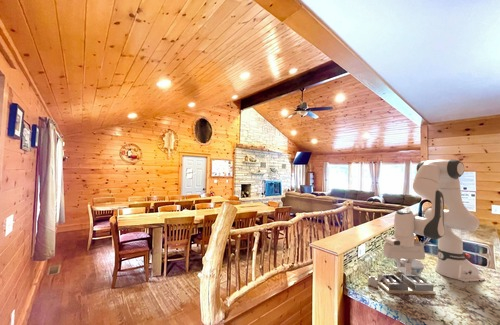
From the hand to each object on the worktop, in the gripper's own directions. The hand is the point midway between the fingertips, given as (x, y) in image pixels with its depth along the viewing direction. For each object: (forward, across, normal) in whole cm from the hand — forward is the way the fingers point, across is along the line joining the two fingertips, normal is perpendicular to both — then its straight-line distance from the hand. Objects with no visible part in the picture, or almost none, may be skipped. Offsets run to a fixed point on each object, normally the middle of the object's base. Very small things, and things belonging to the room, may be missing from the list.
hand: (403, 266), depth 114 cm
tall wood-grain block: (+3, 0, 0) cm, 3 cm away
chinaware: (+11, -13, -15) cm, 23 cm away
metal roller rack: (+11, 0, 0) cm, 11 cm away
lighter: (+12, +15, 0) cm, 19 cm away
